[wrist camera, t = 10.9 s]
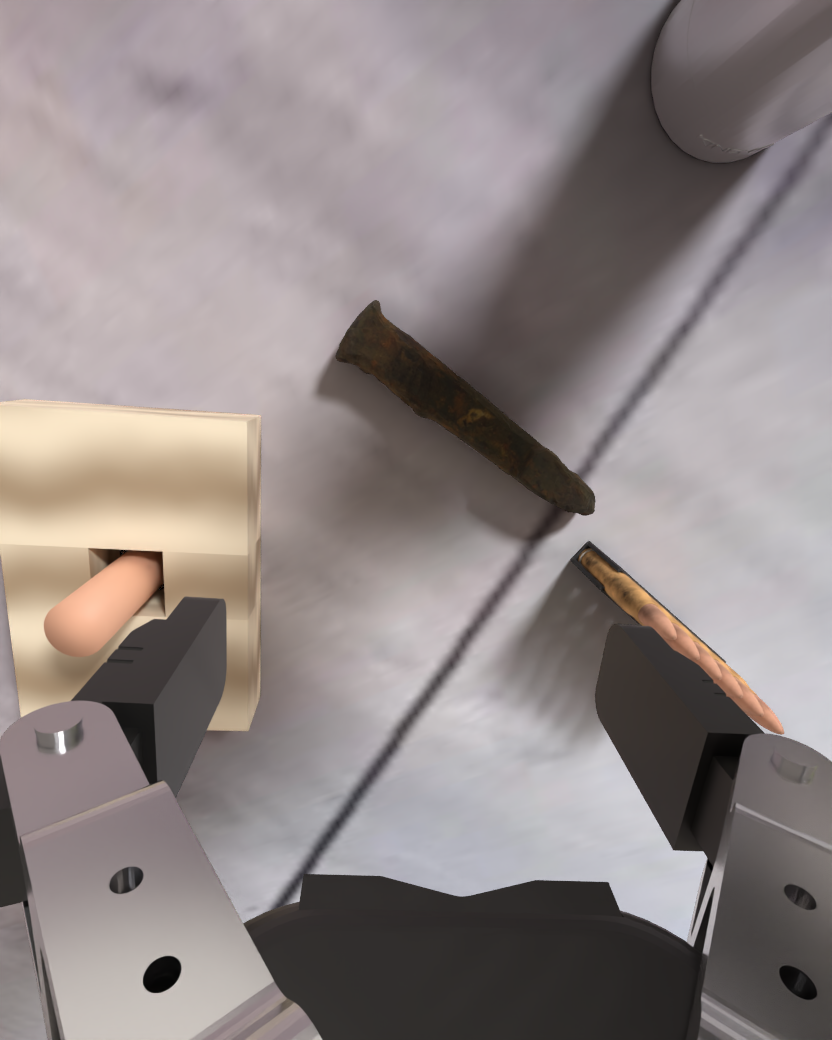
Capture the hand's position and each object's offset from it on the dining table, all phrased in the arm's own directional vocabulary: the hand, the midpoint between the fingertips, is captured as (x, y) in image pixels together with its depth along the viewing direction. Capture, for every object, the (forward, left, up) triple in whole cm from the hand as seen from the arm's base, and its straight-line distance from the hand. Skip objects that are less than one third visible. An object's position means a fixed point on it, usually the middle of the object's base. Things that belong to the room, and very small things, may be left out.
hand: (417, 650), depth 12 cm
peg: (+8, -15, -26) cm, 31 cm away
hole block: (+8, -15, -26) cm, 31 cm away
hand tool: (-3, +5, -27) cm, 27 cm away
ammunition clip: (+9, +18, -26) cm, 33 cm away
